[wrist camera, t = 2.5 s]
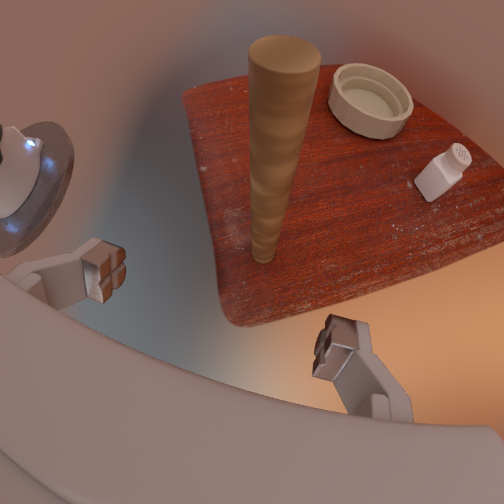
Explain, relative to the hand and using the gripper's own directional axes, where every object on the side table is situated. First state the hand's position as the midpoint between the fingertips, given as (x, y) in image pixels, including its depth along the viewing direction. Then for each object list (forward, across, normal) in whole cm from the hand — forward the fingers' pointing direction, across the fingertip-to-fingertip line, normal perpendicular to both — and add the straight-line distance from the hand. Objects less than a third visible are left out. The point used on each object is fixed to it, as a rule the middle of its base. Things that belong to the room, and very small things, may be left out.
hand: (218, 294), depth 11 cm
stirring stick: (+21, 0, +10) cm, 23 cm away
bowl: (+40, -9, -9) cm, 42 cm away
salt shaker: (+32, -20, -2) cm, 38 cm away
